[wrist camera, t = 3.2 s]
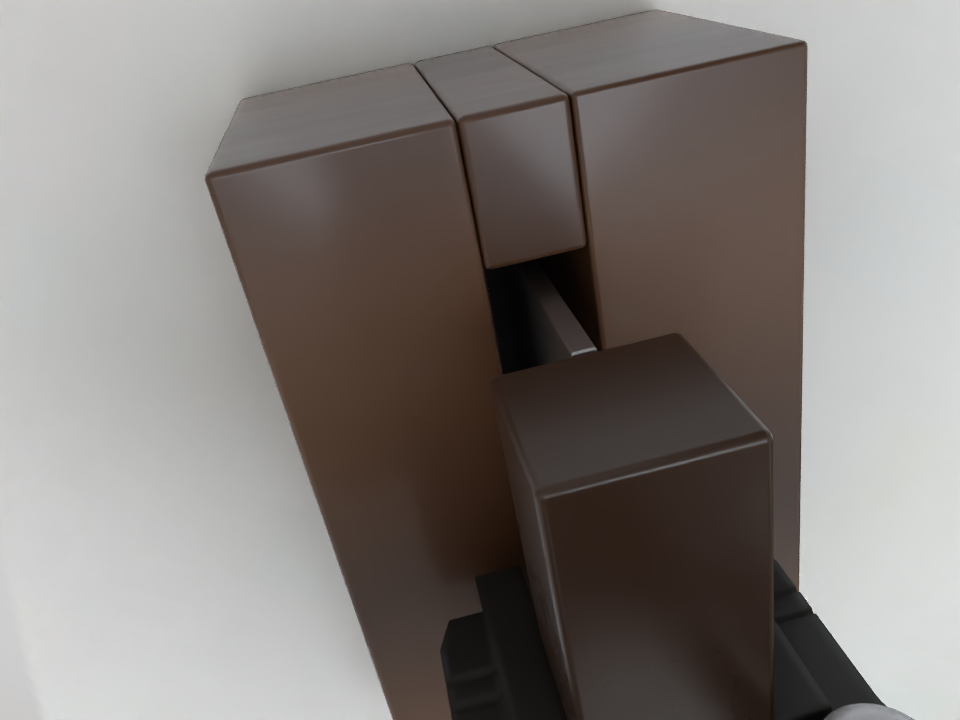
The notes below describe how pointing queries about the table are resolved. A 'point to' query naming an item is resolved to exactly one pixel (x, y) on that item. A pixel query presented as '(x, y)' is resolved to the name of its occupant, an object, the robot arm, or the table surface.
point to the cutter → (635, 514)
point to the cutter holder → (501, 242)
